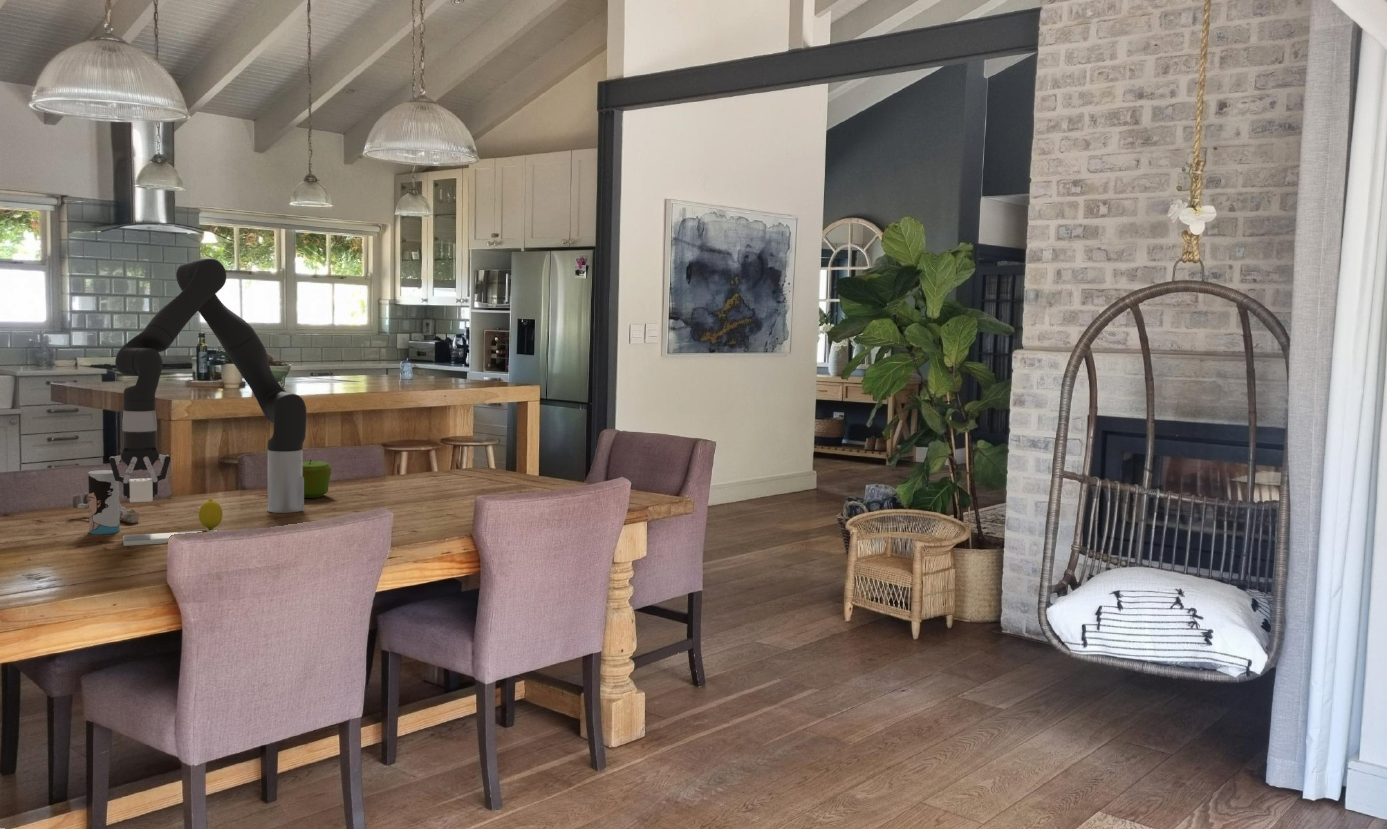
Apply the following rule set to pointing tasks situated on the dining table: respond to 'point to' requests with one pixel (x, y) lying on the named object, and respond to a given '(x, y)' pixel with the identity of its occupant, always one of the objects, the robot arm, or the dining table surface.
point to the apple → (316, 478)
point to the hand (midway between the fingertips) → (140, 497)
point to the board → (150, 538)
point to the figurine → (124, 514)
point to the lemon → (210, 514)
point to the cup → (103, 502)
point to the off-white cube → (141, 490)
